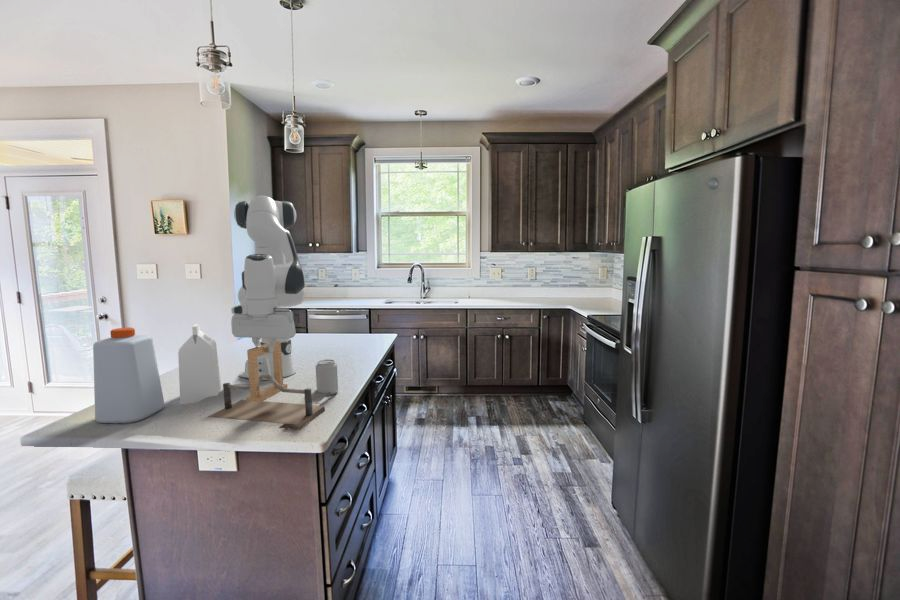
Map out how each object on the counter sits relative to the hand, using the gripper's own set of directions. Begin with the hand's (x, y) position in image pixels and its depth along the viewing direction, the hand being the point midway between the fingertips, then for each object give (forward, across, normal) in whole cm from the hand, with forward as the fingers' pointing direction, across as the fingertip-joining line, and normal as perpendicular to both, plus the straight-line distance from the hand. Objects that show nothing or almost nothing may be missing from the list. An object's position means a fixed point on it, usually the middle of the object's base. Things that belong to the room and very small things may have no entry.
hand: (265, 351), depth 132 cm
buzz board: (+21, +1, 0) cm, 21 cm away
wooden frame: (+14, 0, 0) cm, 14 cm away
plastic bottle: (+21, +45, +8) cm, 50 cm away
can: (+21, -7, -23) cm, 32 cm away
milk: (+21, +36, -11) cm, 43 cm away
